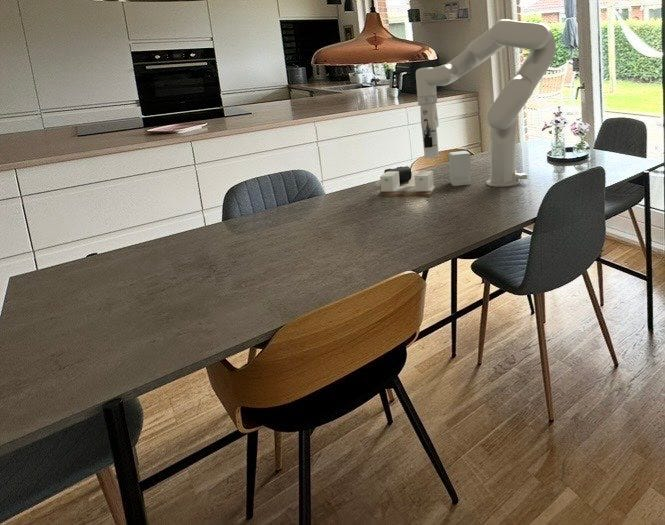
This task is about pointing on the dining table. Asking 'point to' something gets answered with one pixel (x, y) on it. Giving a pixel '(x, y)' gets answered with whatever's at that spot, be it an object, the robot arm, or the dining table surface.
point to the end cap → (402, 173)
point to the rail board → (407, 192)
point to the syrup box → (432, 151)
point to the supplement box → (460, 168)
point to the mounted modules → (392, 181)
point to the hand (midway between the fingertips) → (430, 145)
